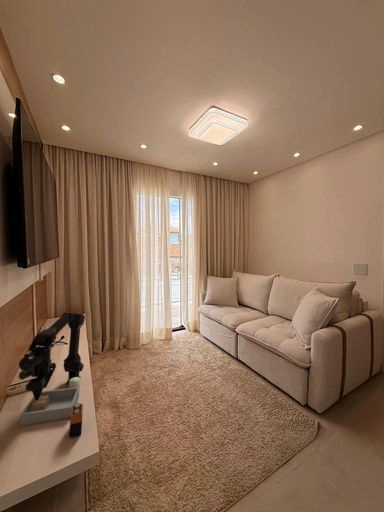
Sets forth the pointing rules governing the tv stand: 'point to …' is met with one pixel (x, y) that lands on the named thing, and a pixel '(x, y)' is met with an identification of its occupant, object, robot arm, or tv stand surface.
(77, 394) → the tote
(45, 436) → the tv stand surface
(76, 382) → the sage capsule
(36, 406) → the walnut cube
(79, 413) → the battery
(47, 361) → the robot arm
